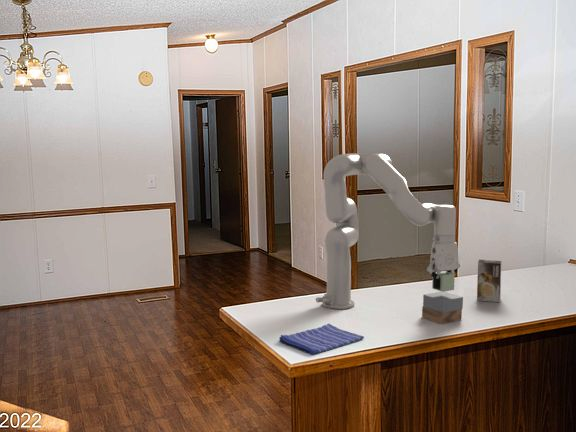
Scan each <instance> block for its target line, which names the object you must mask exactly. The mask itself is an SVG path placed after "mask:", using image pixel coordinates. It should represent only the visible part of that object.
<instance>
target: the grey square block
mask: <svg viewBox="0 0 576 432" xmlns="http://www.w3.org/2000/svg"><path fill="white" fill-rule="evenodd" d="M422 299H423V300H422V306H423V307H426V308H429V309H432V310H435V311H438V312H441V313H446V312H451V311H455V310H460V309H462V310H463V307H464V306H463V305H464V297H463V296H461V295H458V294H454V293H451V292H449V291H444V292H442V291H436V292H430V293H425V294H423V298H422Z"/></svg>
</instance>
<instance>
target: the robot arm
mask: <svg viewBox="0 0 576 432" xmlns="http://www.w3.org/2000/svg"><path fill="white" fill-rule="evenodd" d="M392 164H393V163H392V159H391V158H390V156H388V155H387V154H385V153H382V152H380V153H353V152H351V153H343V154H339V155H338V154H337V156H333V158H331V159H330V160H329V161H328V162H327V164H326V165H325V167H324V169H323V185H324V186H323V187H324V199H325V200H324V201H325V203H324V204H325V214H326V217H327V219H328V221H330V222H331V223H334V224H335V226H334V227H332V228H331V229H330V230H329V231H327V233H326V235H325V240H324V243H325V251H326V252H325V253H326V292H325V293H324V295H323V296H322V297H321V296H320V297H318V296H317V297H316V298H315V302H316V303H322V305H323V307H325V308H328V309H334V310H346V309H350V308H351V309H352V308H353V307H355V301H354V300H352V299H351V296H352V295H351V291H352V288H351V286H352V259H351V258H352V257H351V250H350V248H351V247H352V246H354V245H356V243H357V242H358V240H359V236H360V231H359V220H358V219H359V217H358V209H357V204H356V203H355V201H354V200H353V199H352V198H351V197H348V195H347V184H346V182H345V179H346V177H349V176H356V175H357V176H358V175H360V176H361V175H362V176H369V177H370V178H371V180H373V181H374V182H375V183H376V185H378V186H379V187H380V188H381V189H382V190H383V191H384V192H385V193H386V194H387V196H389V198H390V200H391V201H392V202H393V204H394V206H395V207H396V208H397V209H398V211H399V212H400V213H401V214H402V215H403V216H404V217H405V218H406V219H407V220H408V221H410V223H411V224H413V225H415V226H417V227H424V226H425V225H428V224H431V223H433V237H432V241H433V242H432V245H431V250H430V256H429V257H430V259H429V265H428V266H427V267H426V272H428V273H429V275H430V276H431V278H432V281H433V288H435V289H434V290H436V289H438V290H437V291H439V289H440V279H439V277H440V273H441V271H446V272H450V273H453V274H455V275H456V273H457V272H458V270H459V269H460V268H461V264H460V263H459V261H460V259H459V249H458V244H457V242H456V222H457V221H456V220H457V219H456V218H457V209H456V206H454V205H451V204H434V203H430V202H424V203H421V202H420V201H419V200H418V199H417V198H416V197H415V196H414V195H413V194H412V192H411V191H410V189H409V187H408V182H407V180H406V178H405V177H404V176H402V174H401V173H399V171H398V170H397V169H396V168H395V167H394V166H393V165H392ZM436 272H437V274H436Z"/></svg>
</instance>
